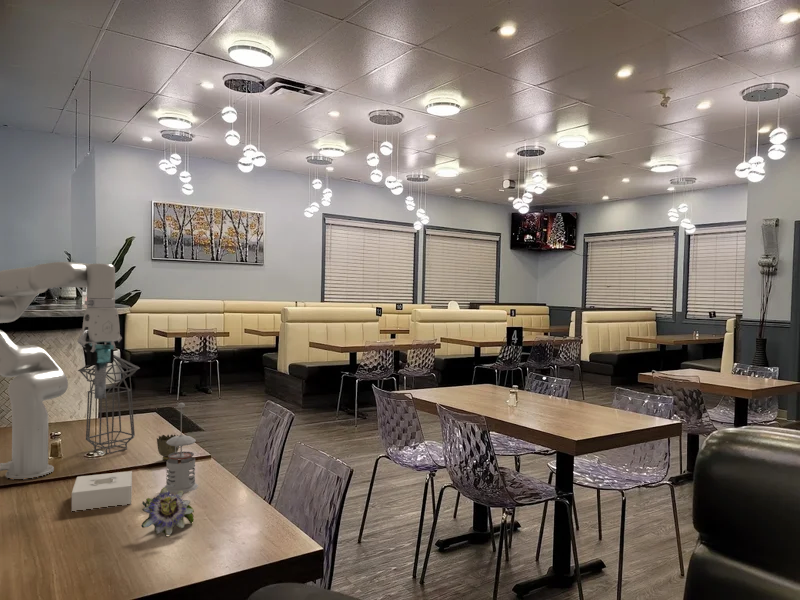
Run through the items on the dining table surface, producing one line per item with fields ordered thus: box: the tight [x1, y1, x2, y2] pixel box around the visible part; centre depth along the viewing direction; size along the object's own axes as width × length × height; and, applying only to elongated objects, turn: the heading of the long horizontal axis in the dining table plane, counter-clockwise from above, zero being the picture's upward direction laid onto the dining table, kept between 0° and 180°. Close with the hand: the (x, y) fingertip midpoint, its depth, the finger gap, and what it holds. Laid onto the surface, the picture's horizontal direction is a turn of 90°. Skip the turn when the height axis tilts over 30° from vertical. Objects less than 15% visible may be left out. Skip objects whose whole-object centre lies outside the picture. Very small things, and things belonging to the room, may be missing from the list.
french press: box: [163, 402, 199, 494], centre depth 169 cm, size 10×12×25 cm
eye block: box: [71, 470, 133, 512], centre depth 158 cm, size 14×14×5 cm
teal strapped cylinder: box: [91, 343, 114, 400], centre depth 174 cm, size 9×6×16 cm, turn 70°
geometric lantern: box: [77, 354, 141, 455], centre depth 206 cm, size 16×16×35 cm
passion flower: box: [141, 486, 195, 536], centre depth 139 cm, size 11×11×12 cm
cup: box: [156, 433, 180, 461], centre depth 195 cm, size 8×7×8 cm
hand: (100, 363), depth 174 cm, fingers closed on teal strapped cylinder, 5 cm apart
